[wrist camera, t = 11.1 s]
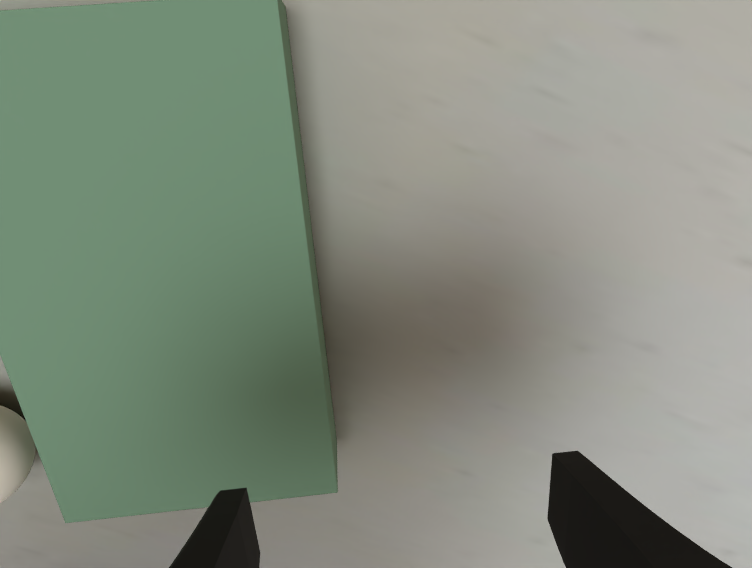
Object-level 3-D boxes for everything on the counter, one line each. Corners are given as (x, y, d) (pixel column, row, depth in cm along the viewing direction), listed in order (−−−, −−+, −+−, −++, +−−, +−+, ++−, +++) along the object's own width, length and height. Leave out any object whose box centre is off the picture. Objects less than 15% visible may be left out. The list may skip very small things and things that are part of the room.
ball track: (336, 441, 23) (337, 492, 20) (-115, 490, 22) (-178, 550, 19) (285, 6, 17) (276, -8, 14) (-354, 48, 16) (-502, 42, 13)
